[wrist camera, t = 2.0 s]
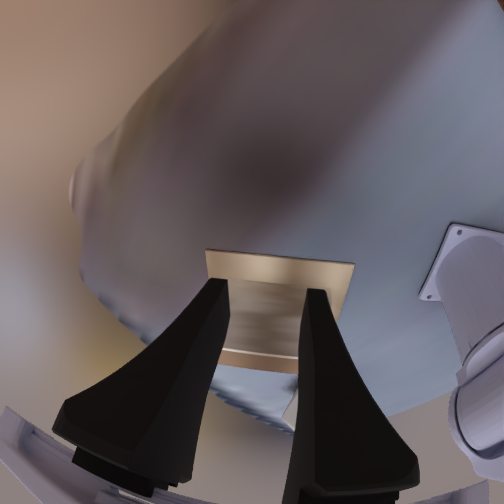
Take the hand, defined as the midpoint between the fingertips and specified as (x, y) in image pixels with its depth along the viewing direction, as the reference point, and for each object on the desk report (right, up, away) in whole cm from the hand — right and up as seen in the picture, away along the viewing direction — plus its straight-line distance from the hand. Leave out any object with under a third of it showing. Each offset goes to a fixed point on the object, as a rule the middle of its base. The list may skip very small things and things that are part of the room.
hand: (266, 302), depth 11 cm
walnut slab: (+2, -2, +14) cm, 14 cm away
